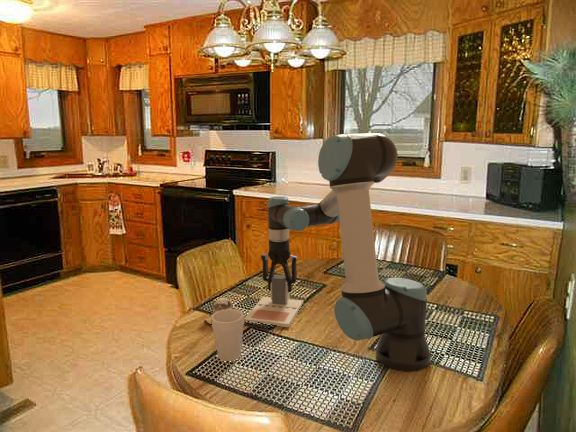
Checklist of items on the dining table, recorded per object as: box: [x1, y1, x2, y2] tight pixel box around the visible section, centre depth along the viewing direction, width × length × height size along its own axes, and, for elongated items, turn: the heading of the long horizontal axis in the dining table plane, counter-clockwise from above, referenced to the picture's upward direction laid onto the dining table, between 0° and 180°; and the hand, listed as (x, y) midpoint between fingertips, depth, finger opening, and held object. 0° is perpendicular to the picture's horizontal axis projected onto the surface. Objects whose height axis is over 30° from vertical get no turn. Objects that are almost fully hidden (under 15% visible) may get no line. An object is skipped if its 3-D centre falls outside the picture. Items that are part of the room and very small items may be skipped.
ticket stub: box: [256, 274, 304, 310], centre depth 162 cm, size 7×16×12 cm, turn 74°
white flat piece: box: [244, 303, 300, 328], centre depth 153 cm, size 13×16×2 cm
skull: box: [212, 297, 234, 314], centre depth 152 cm, size 12×10×10 cm
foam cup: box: [210, 308, 245, 361], centre depth 126 cm, size 10×9×13 cm
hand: (280, 299), depth 162 cm, fingers closed on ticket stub, 5 cm apart
